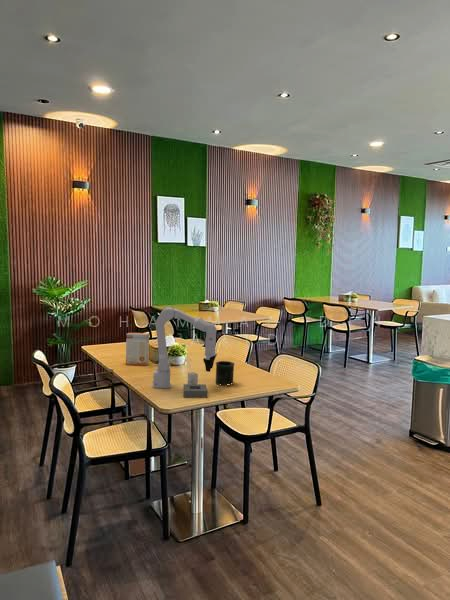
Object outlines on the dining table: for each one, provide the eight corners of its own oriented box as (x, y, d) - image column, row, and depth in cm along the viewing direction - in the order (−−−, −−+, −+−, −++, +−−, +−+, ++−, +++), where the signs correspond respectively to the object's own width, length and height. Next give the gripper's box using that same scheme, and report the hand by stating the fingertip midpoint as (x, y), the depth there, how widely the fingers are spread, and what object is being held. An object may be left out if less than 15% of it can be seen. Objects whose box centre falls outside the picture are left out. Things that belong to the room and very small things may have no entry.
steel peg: (191, 388, 247) (191, 374, 246) (187, 387, 250) (187, 373, 249) (197, 387, 249) (197, 373, 248) (193, 386, 252) (194, 372, 252)
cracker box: (148, 364, 300) (149, 333, 298) (146, 366, 294) (147, 334, 292) (128, 362, 301) (128, 332, 299) (125, 364, 295) (126, 333, 293)
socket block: (183, 397, 231) (183, 390, 231) (183, 390, 243) (183, 384, 243) (206, 397, 232) (207, 390, 232) (205, 390, 244) (205, 384, 244)
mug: (220, 387, 252) (221, 366, 251) (208, 380, 265) (209, 360, 264) (237, 385, 258) (238, 364, 257) (224, 378, 270) (225, 359, 269)
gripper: (215, 348, 242) (214, 373, 243) (219, 343, 257) (218, 367, 258) (202, 347, 243) (201, 372, 244) (207, 343, 257) (206, 366, 259)
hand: (209, 369), depth 251 cm, fingers open, 7 cm apart
